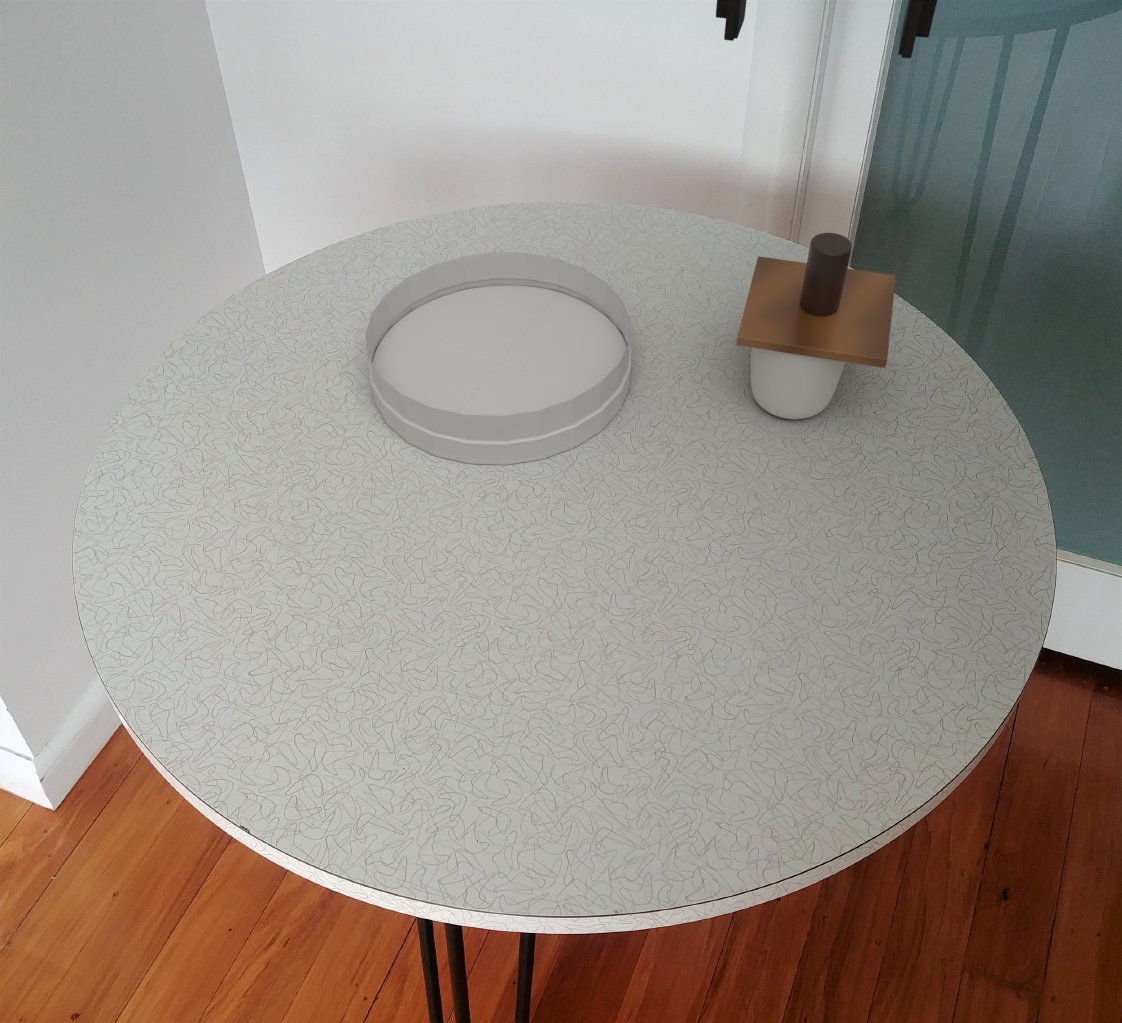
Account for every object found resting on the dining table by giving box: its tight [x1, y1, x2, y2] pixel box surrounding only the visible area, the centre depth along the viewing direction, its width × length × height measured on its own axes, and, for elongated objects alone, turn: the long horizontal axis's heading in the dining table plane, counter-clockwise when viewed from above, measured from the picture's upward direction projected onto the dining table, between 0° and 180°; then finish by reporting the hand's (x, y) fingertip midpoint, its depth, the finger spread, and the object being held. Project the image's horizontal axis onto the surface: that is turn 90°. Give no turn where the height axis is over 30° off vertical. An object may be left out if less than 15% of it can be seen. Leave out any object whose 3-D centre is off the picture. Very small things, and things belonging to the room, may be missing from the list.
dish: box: [365, 251, 633, 466], centre depth 89 cm, size 22×22×5 cm
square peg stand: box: [735, 232, 897, 369], centre depth 80 cm, size 11×11×6 cm
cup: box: [750, 347, 847, 420], centre depth 85 cm, size 11×8×8 cm
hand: (818, 39), depth 60 cm, fingers open, 9 cm apart
